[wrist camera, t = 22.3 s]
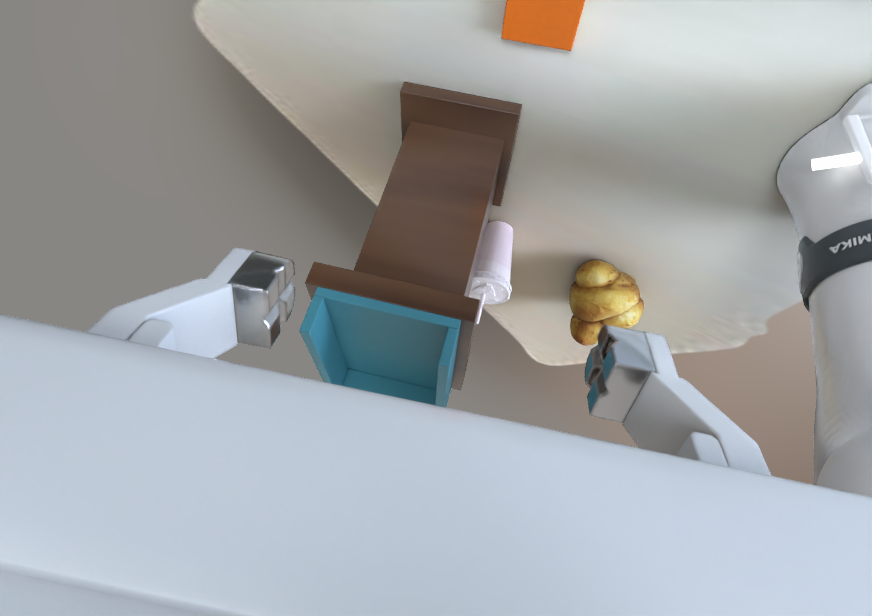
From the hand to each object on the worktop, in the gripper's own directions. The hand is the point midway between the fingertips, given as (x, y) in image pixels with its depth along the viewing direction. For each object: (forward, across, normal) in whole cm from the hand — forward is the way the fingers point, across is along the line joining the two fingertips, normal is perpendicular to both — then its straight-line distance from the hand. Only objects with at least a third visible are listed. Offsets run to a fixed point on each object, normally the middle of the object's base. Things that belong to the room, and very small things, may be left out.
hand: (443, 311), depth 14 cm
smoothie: (+52, -5, +24) cm, 58 cm away
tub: (+23, +4, +22) cm, 32 cm away
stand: (+46, +2, +11) cm, 47 cm away
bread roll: (+53, -21, +29) cm, 64 cm away
